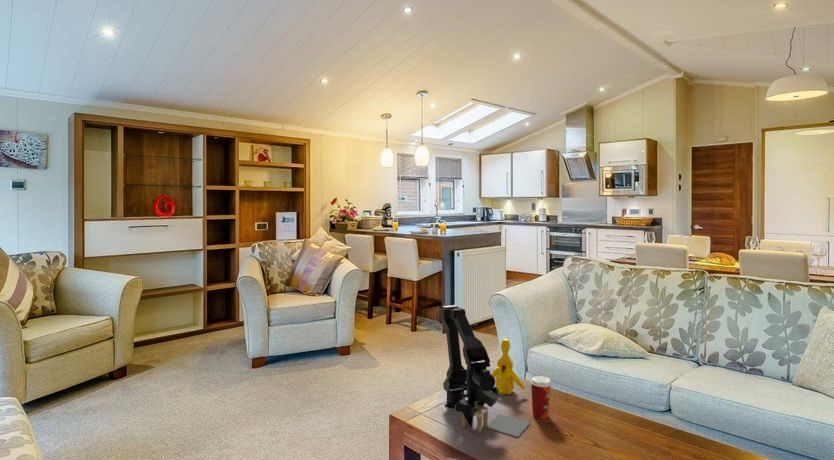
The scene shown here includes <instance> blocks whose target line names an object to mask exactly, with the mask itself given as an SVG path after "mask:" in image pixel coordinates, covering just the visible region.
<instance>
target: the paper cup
mask: <svg viewBox="0 0 834 460" xmlns="http://www.w3.org/2000/svg"><path fill="white" fill-rule="evenodd" d="M530 384H531V385H530V386H531V401H532V402H531V403H532V404H531V405H532V406H531V407H532V415H533V417H534V418H536V419H538V420H545V419H548V418H549V412H550V400H551V399H550V398H551V387H552V382H551V379H550V378H549V377H546V376H543V375H542V376H541V375H535V376H533V377H531V380H530Z"/></svg>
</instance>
